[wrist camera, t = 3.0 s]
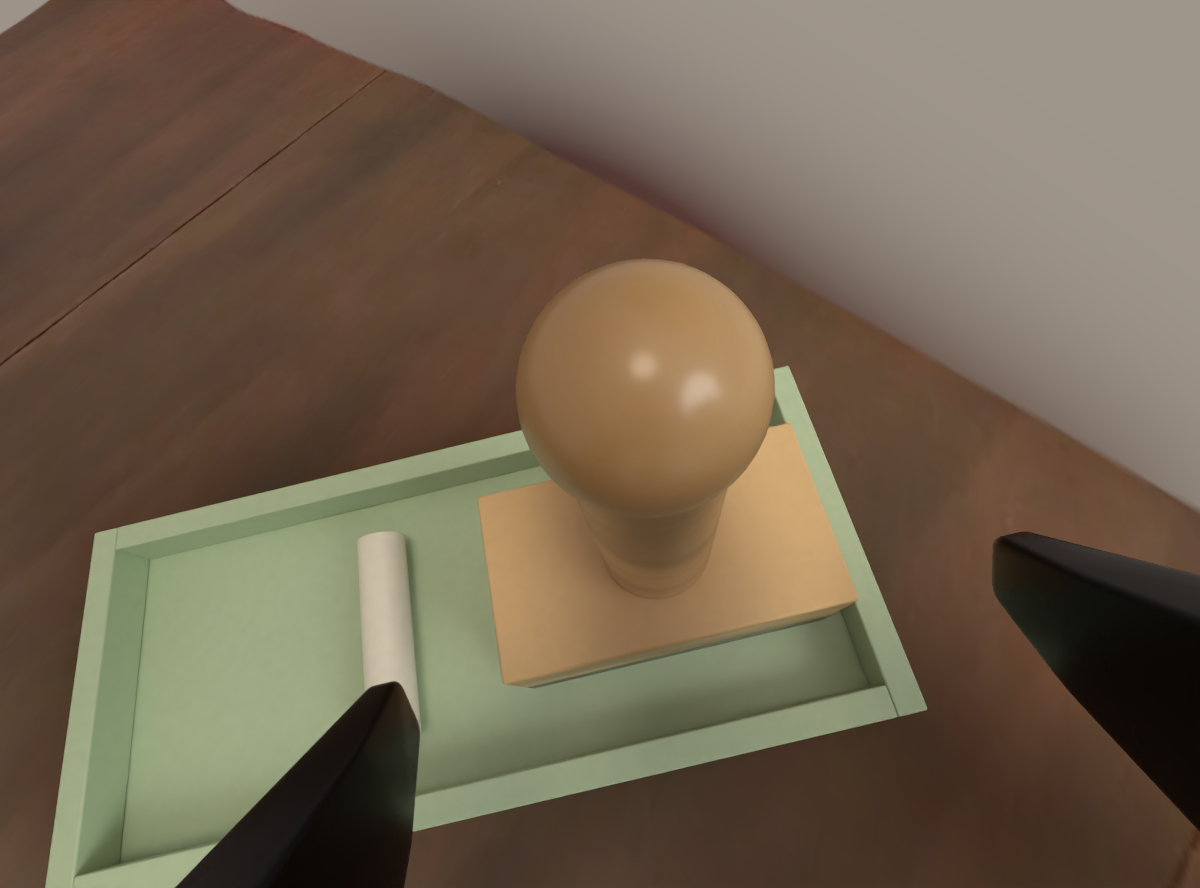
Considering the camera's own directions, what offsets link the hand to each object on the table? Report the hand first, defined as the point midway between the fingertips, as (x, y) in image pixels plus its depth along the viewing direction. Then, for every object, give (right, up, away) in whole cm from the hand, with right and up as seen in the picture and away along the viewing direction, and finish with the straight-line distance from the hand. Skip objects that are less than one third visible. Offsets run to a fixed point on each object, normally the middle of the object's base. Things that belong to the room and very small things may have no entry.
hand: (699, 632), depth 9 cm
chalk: (-9, -3, +10) cm, 13 cm away
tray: (-5, -3, +11) cm, 13 cm away
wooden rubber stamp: (0, -1, +10) cm, 10 cm away
